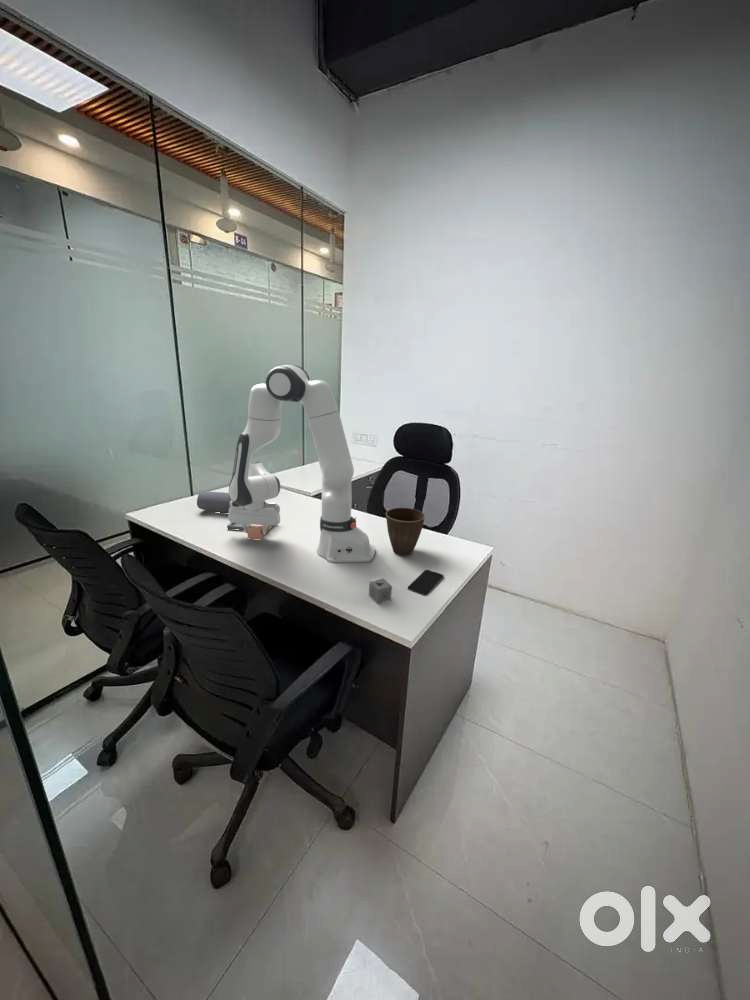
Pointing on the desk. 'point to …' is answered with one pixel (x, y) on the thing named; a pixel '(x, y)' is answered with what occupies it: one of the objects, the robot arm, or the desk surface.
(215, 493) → the bluetooth speaker
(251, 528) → the orange cube
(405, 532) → the plant pot
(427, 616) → the desk surface
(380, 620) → the desk surface
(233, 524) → the tray
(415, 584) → the smartphone
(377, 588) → the dice cube
